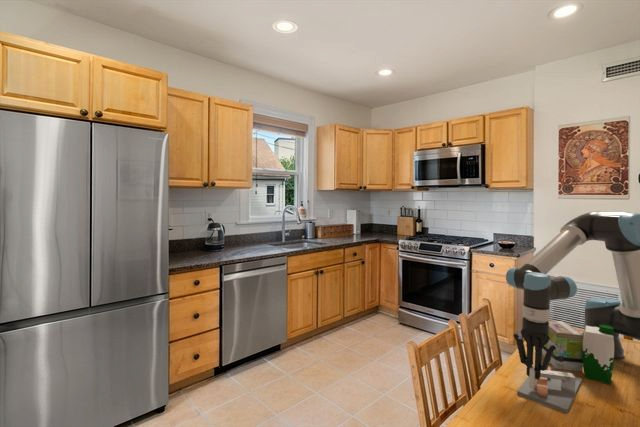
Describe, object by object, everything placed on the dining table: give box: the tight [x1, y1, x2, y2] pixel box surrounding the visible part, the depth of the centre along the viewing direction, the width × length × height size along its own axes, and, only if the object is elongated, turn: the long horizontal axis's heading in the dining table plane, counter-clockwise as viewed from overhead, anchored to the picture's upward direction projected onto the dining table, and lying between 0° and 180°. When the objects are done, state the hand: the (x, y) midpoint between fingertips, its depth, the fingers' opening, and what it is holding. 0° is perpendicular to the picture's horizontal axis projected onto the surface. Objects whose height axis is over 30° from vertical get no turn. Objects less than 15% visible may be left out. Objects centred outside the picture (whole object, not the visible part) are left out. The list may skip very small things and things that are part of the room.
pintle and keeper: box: [540, 364, 575, 392], centre depth 118 cm, size 13×14×5 cm
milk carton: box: [582, 325, 615, 386], centre depth 124 cm, size 9×9×20 cm
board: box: [516, 368, 583, 414], centre depth 118 cm, size 26×14×1 cm, turn 134°
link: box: [533, 362, 552, 397], centre depth 119 cm, size 20×5×2 cm, turn 146°
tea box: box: [542, 320, 584, 372], centre depth 137 cm, size 15×10×15 cm, turn 168°
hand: (533, 386), depth 114 cm, fingers closed
